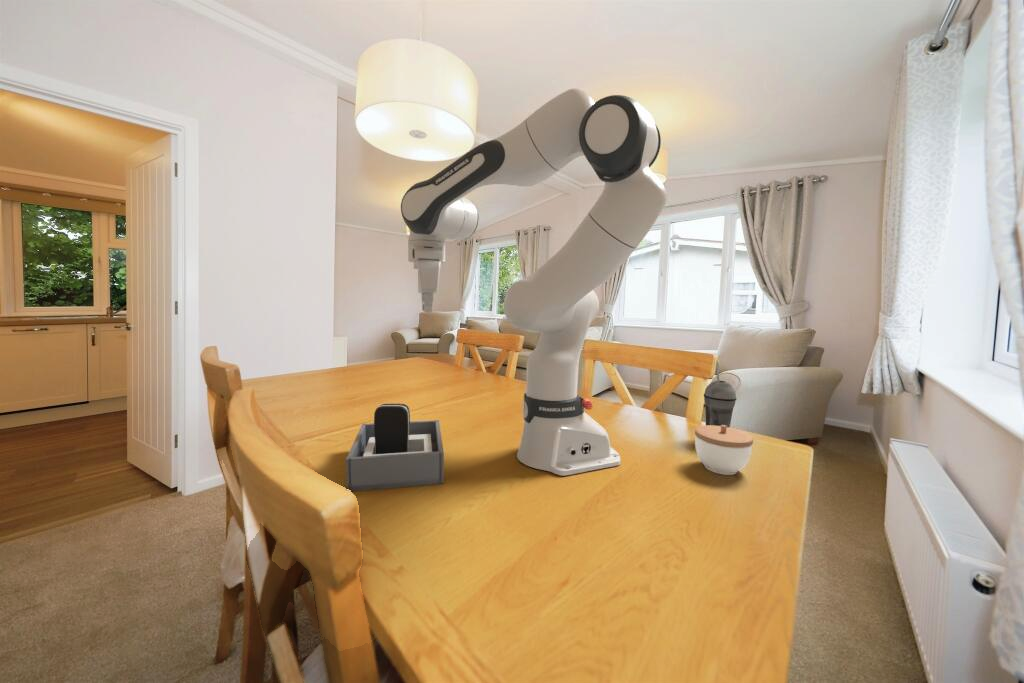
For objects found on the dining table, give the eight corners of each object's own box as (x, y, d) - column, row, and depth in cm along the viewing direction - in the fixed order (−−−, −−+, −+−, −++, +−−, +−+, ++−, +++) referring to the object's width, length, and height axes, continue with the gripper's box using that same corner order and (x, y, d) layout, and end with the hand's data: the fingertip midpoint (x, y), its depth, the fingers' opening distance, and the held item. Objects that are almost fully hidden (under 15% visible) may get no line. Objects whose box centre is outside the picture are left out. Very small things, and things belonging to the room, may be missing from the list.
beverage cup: (737, 448, 94) (744, 366, 92) (704, 445, 96) (710, 364, 93) (727, 438, 101) (733, 361, 99) (697, 435, 103) (702, 360, 101)
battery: (411, 453, 84) (411, 401, 83) (408, 460, 81) (407, 406, 79) (378, 453, 84) (377, 401, 83) (373, 460, 80) (372, 406, 79)
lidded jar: (762, 475, 79) (766, 430, 78) (724, 484, 75) (728, 437, 74) (716, 455, 89) (719, 415, 88) (681, 462, 85) (684, 420, 84)
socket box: (438, 444, 92) (438, 420, 92) (443, 483, 73) (443, 452, 72) (362, 449, 89) (362, 423, 88) (346, 491, 69) (345, 459, 69)
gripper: (412, 258, 104) (412, 310, 105) (414, 249, 84) (415, 313, 86) (436, 259, 106) (436, 310, 107) (444, 251, 86) (443, 313, 87)
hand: (427, 312), depth 96 cm, fingers open, 8 cm apart
